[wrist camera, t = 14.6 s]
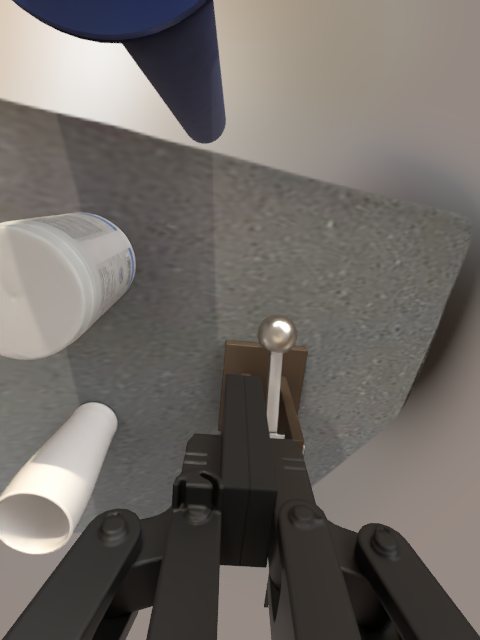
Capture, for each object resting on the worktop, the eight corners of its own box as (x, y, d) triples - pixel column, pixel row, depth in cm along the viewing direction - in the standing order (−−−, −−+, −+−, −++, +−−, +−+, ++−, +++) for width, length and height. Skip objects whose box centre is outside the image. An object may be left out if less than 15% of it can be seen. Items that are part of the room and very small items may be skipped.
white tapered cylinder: (85, 451, 46) (17, 566, 31) (56, 406, 44) (-30, 507, 29) (135, 432, 45) (89, 541, 31) (107, 386, 43) (45, 479, 29)
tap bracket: (226, 340, 41) (222, 398, 29) (306, 346, 42) (335, 407, 30) (218, 425, 45) (212, 509, 33) (292, 430, 45) (314, 516, 33)
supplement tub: (25, 249, 38) (-97, 279, 24) (94, 191, 36) (6, 187, 22) (90, 322, 40) (15, 387, 26) (158, 271, 39) (115, 312, 25)
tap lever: (257, 315, 36) (261, 310, 32) (294, 318, 36) (302, 314, 32) (246, 456, 34) (249, 468, 31) (284, 459, 34) (292, 471, 31)
